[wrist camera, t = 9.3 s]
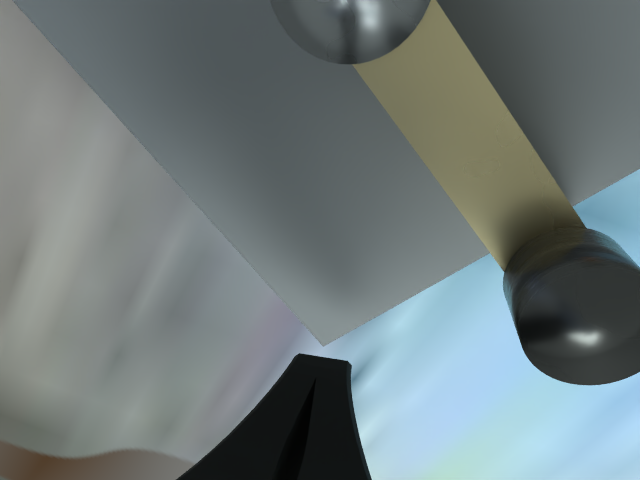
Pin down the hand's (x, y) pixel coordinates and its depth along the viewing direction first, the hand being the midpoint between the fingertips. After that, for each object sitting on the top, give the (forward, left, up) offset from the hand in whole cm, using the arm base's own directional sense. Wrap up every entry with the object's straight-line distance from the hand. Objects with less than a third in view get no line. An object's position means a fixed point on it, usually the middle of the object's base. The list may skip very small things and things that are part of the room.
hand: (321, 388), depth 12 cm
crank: (-3, +6, -3) cm, 7 cm away
